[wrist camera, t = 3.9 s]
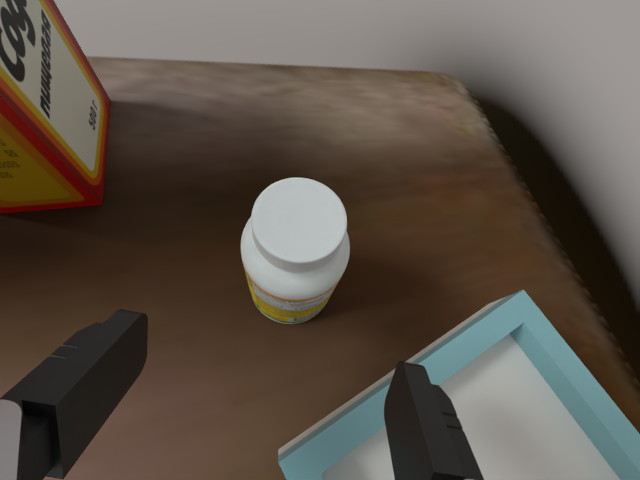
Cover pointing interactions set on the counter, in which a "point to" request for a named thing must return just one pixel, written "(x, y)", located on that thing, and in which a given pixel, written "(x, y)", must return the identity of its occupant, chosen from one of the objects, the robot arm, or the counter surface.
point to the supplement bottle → (295, 249)
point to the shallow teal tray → (488, 408)
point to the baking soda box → (48, 113)
